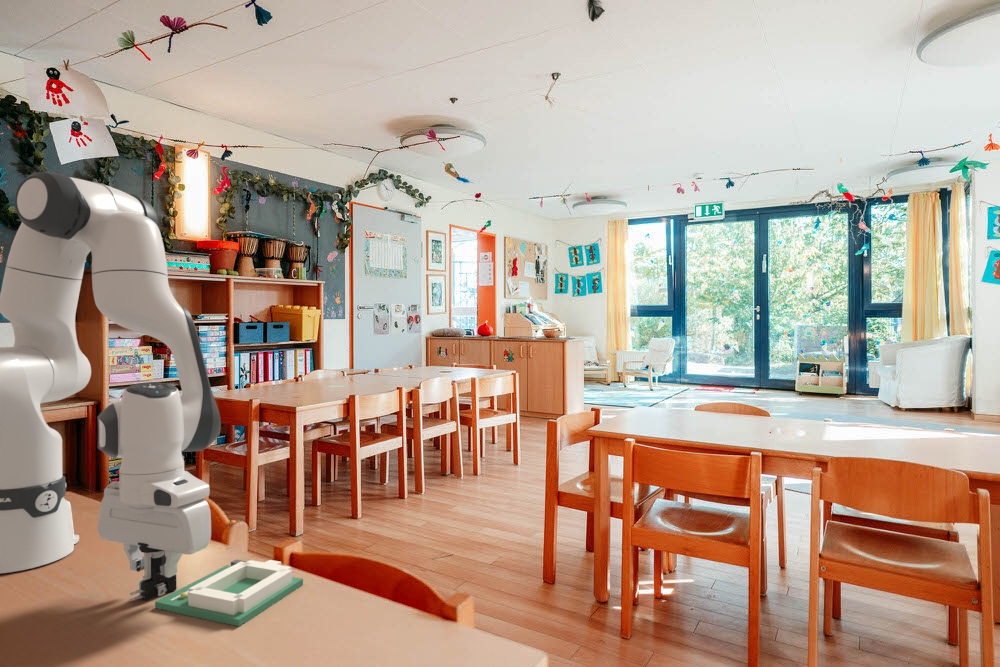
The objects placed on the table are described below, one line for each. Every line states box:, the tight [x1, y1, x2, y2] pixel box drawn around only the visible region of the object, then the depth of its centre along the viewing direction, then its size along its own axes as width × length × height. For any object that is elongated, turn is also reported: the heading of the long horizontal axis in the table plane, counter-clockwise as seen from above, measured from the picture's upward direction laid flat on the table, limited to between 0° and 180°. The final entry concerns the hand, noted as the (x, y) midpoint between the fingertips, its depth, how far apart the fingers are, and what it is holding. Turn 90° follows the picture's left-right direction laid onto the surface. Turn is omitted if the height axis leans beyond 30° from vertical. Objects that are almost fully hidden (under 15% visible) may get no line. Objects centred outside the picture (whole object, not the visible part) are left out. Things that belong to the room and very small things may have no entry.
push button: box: [128, 543, 177, 602], centre depth 91 cm, size 7×5×10 cm
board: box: [154, 559, 304, 627], centre depth 91 cm, size 16×14×3 cm
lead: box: [230, 559, 247, 566], centre depth 100 cm, size 10×1×1 cm, turn 71°
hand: (153, 572), depth 91 cm, fingers open, 5 cm apart
